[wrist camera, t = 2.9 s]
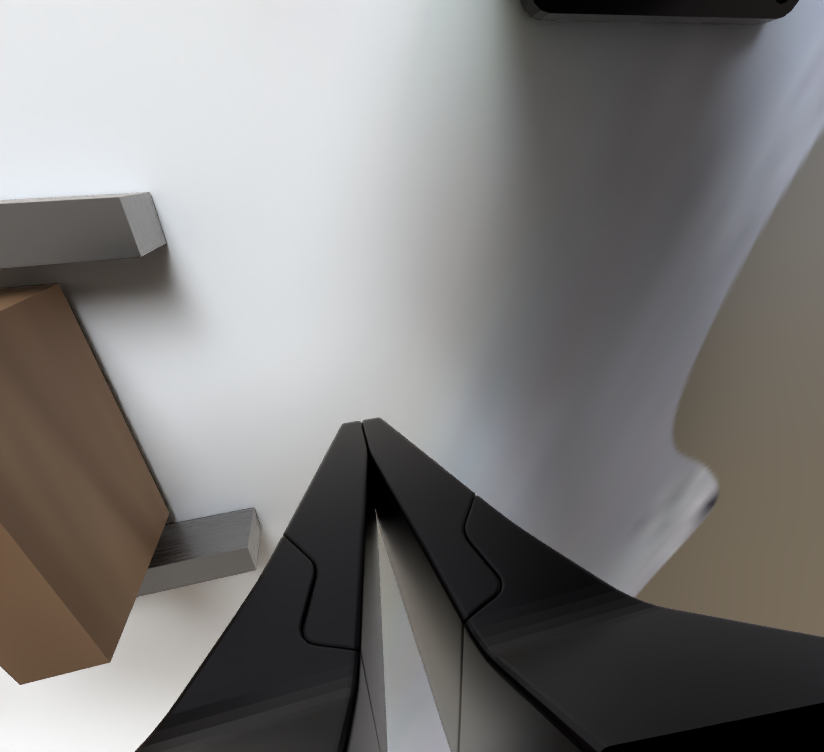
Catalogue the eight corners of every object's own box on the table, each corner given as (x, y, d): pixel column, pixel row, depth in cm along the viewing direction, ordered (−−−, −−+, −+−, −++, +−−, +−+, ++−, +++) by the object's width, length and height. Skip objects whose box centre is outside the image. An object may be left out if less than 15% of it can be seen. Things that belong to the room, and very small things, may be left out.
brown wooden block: (59, 283, 8) (-121, 367, 5) (169, 513, 11) (110, 662, 8) (-32, 291, 8) (-292, 388, 4) (108, 525, 11) (19, 684, 8)
